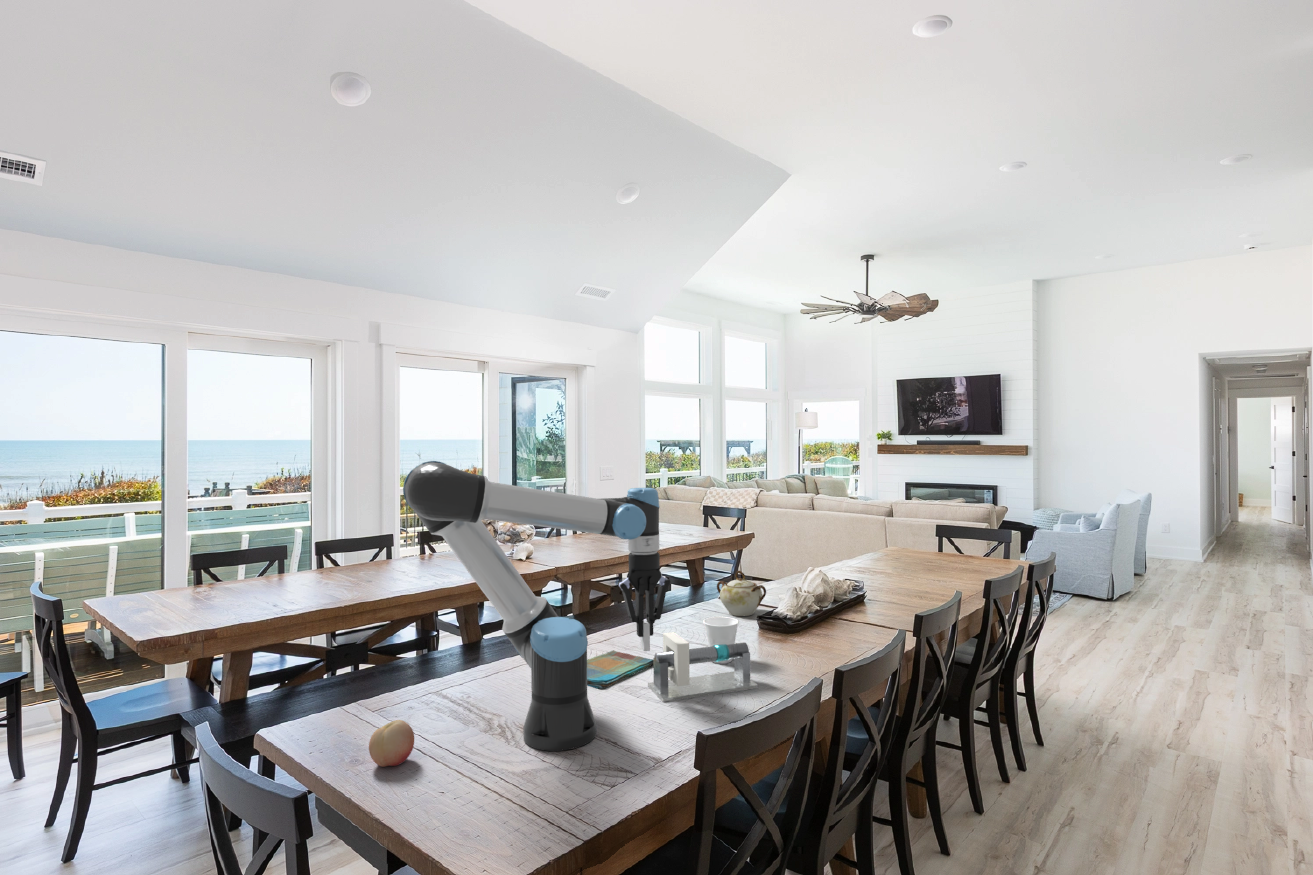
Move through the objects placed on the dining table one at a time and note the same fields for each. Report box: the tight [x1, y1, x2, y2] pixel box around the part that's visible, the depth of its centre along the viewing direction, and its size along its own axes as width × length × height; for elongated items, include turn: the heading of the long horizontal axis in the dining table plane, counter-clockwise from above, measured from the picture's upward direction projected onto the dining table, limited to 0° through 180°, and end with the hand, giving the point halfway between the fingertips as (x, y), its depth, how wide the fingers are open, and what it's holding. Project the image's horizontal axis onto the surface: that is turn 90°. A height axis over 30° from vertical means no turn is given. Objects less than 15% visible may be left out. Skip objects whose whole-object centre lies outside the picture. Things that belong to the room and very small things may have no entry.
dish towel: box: [587, 650, 653, 690], centre depth 188 cm, size 17×23×2 cm
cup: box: [702, 616, 740, 665], centre depth 195 cm, size 10×10×11 cm
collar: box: [662, 631, 690, 686], centre depth 172 cm, size 3×10×10 cm, turn 19°
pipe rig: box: [647, 642, 759, 703], centre depth 174 cm, size 25×11×10 cm, turn 110°
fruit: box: [368, 719, 415, 768], centre depth 135 cm, size 8×8×8 cm
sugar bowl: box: [716, 570, 767, 617], centre depth 245 cm, size 20×15×15 cm
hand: (645, 649), depth 169 cm, fingers closed
